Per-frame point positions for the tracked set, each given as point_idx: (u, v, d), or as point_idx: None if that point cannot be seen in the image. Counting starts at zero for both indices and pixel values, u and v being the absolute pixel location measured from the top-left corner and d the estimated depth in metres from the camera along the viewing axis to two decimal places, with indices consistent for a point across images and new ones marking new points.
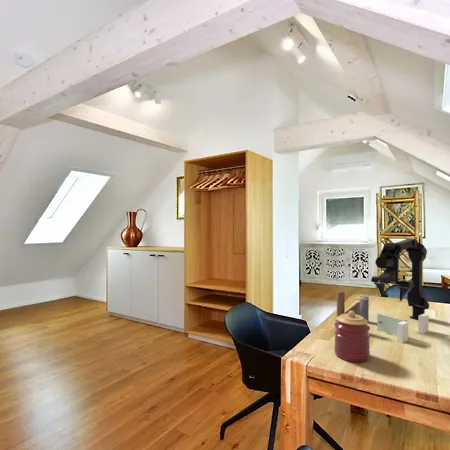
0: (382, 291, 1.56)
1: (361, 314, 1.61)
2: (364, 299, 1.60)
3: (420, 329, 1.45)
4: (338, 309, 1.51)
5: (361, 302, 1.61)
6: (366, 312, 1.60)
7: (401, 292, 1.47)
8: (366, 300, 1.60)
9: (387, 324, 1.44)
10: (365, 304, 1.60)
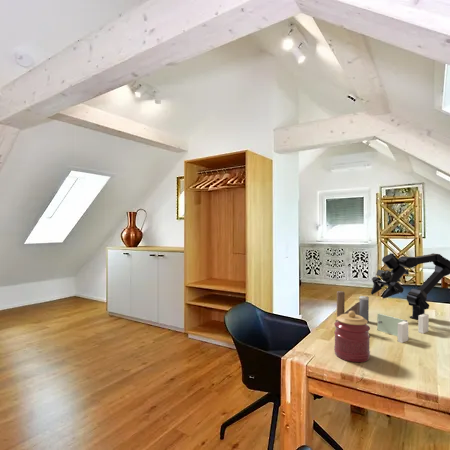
0: (374, 290, 1.68)
1: (361, 314, 1.61)
2: (364, 299, 1.60)
3: (420, 329, 1.45)
4: (338, 309, 1.51)
5: (361, 302, 1.61)
6: (366, 312, 1.60)
7: (387, 290, 1.58)
8: (366, 300, 1.60)
9: (387, 324, 1.44)
10: (365, 304, 1.60)
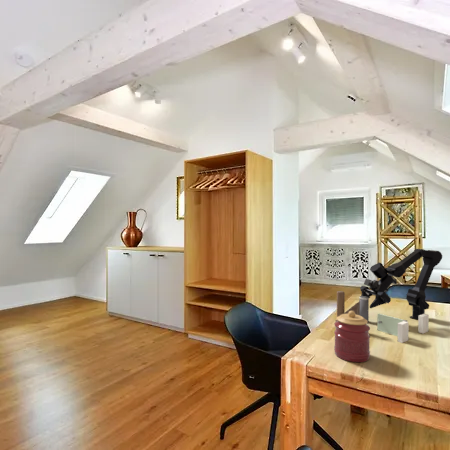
0: None
1: (361, 314, 1.61)
2: (364, 299, 1.60)
3: (420, 329, 1.45)
4: (338, 309, 1.51)
5: (361, 302, 1.61)
6: (366, 312, 1.60)
7: (375, 300, 1.57)
8: (366, 300, 1.60)
9: (387, 324, 1.44)
10: (365, 304, 1.60)
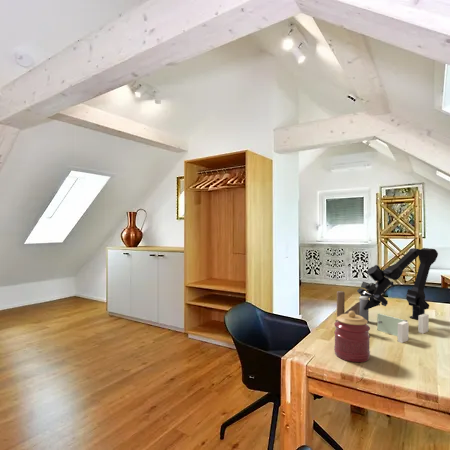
0: None
1: (361, 314, 1.61)
2: (364, 299, 1.60)
3: (420, 329, 1.45)
4: (338, 309, 1.51)
5: (361, 302, 1.61)
6: (366, 312, 1.60)
7: (369, 302, 1.59)
8: (366, 300, 1.60)
9: (387, 324, 1.44)
10: (365, 304, 1.60)
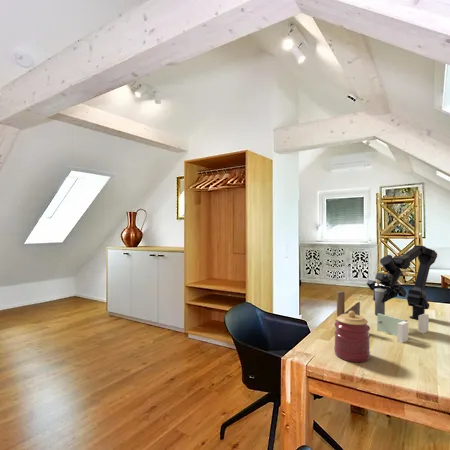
0: None
1: (378, 307, 1.51)
2: (381, 291, 1.50)
3: (420, 329, 1.45)
4: (338, 309, 1.51)
5: (378, 295, 1.51)
6: (383, 305, 1.50)
7: (387, 294, 1.50)
8: (383, 292, 1.50)
9: (387, 324, 1.44)
10: (382, 296, 1.50)
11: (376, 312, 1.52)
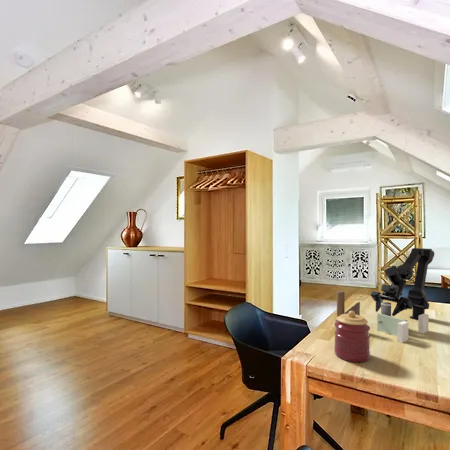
0: (378, 306, 1.53)
1: None
2: (388, 305, 1.47)
3: (420, 329, 1.45)
4: (338, 309, 1.51)
5: (385, 309, 1.48)
6: None
7: (397, 306, 1.46)
8: (390, 306, 1.48)
9: (387, 324, 1.44)
10: (389, 311, 1.48)
11: None
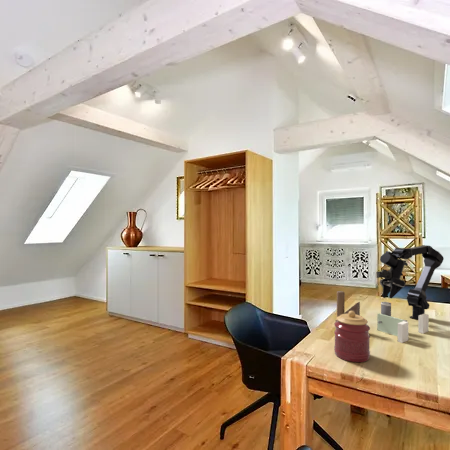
0: (385, 292, 1.64)
1: None
2: (388, 305, 1.48)
3: (420, 329, 1.45)
4: (338, 309, 1.51)
5: (385, 309, 1.48)
6: None
7: (391, 288, 1.55)
8: (390, 306, 1.48)
9: (387, 324, 1.44)
10: (389, 310, 1.48)
11: None
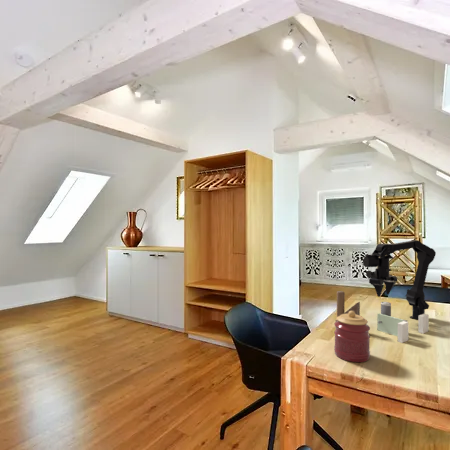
0: (387, 289, 1.68)
1: None
2: (388, 305, 1.48)
3: (420, 329, 1.45)
4: (338, 309, 1.51)
5: (385, 309, 1.48)
6: None
7: None
8: (390, 306, 1.48)
9: (387, 324, 1.44)
10: (389, 310, 1.48)
11: None
